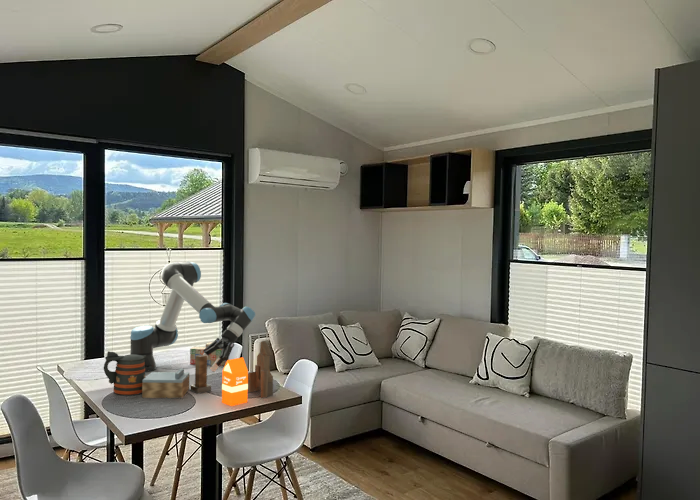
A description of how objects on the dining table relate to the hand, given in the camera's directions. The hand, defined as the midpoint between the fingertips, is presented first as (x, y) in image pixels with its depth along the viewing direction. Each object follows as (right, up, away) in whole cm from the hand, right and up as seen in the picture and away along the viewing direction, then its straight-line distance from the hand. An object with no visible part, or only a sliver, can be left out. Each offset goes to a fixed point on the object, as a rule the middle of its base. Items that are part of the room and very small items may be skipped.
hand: (204, 367), depth 260 cm
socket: (-2, -11, 0) cm, 11 cm away
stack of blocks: (-12, -10, +54) cm, 56 cm away
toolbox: (-17, -11, -6) cm, 21 cm away
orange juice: (+18, -12, -17) cm, 28 cm away
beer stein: (-36, -11, -5) cm, 38 cm away
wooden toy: (+27, -12, -2) cm, 30 cm away
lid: (-16, -4, -6) cm, 18 cm away
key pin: (-2, -11, 0) cm, 11 cm away
